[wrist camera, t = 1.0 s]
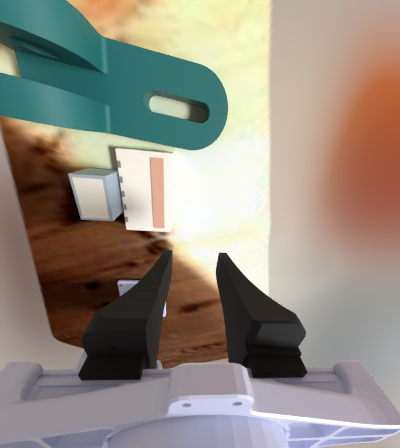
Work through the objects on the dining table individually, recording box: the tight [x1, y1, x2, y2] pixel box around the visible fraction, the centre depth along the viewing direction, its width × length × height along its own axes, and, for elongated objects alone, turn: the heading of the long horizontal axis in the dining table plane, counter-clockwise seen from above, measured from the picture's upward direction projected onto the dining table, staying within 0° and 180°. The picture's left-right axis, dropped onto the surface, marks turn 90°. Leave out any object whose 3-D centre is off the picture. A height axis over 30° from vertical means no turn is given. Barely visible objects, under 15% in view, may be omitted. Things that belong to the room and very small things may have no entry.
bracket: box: [0, 0, 228, 150], centre depth 13 cm, size 18×7×8 cm, turn 79°
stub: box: [68, 168, 124, 221], centre depth 19 cm, size 5×4×4 cm
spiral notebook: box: [115, 148, 173, 232], centre depth 20 cm, size 10×6×1 cm, turn 175°
